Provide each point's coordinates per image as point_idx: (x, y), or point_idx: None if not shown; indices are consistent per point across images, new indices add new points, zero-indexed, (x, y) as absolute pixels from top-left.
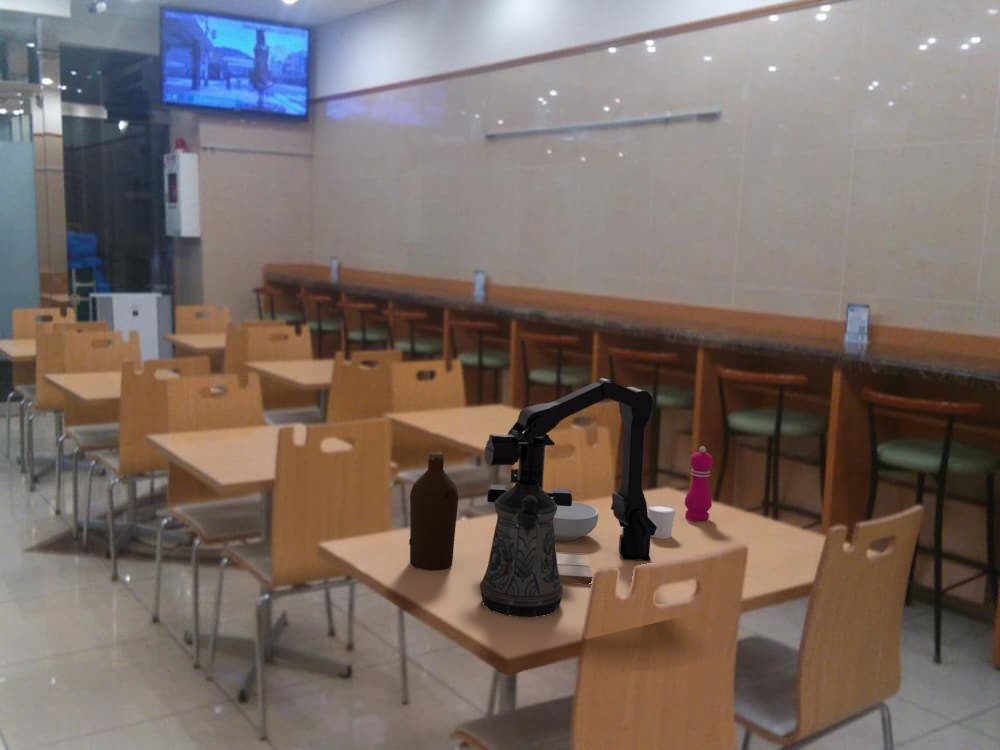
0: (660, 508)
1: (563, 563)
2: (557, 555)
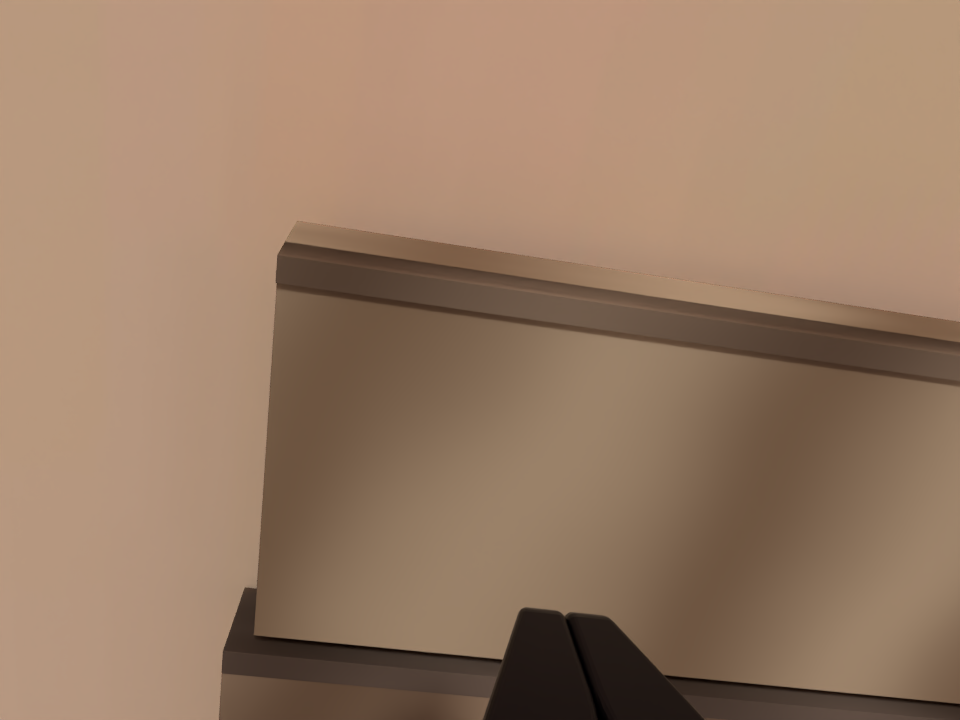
0: None
1: (897, 674)
2: (948, 460)
